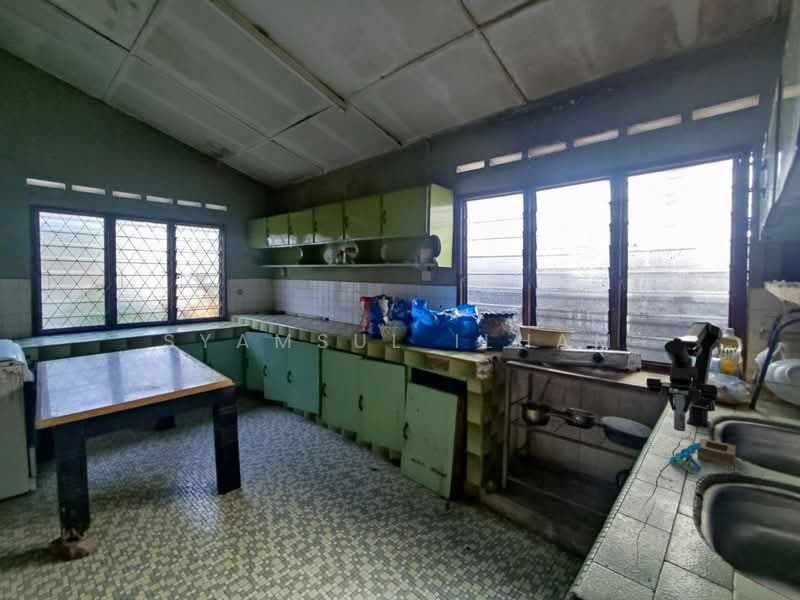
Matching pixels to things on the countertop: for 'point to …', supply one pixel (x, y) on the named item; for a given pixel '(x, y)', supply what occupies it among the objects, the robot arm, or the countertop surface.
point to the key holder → (717, 452)
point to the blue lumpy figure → (686, 456)
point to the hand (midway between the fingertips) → (679, 411)
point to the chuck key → (679, 408)
